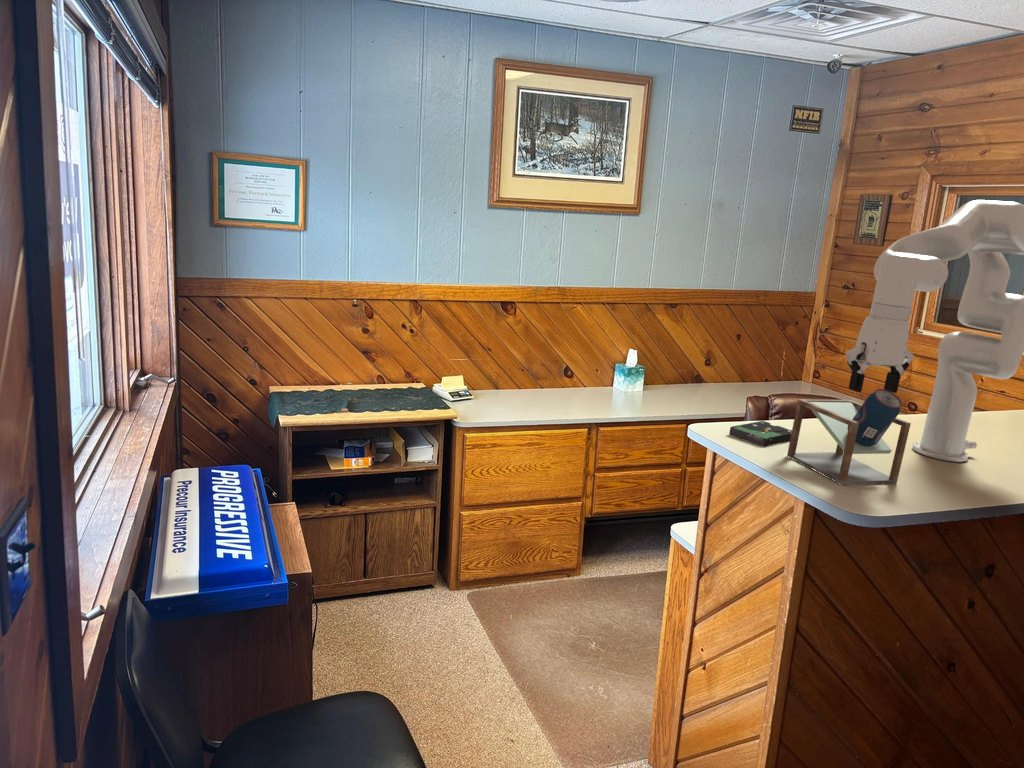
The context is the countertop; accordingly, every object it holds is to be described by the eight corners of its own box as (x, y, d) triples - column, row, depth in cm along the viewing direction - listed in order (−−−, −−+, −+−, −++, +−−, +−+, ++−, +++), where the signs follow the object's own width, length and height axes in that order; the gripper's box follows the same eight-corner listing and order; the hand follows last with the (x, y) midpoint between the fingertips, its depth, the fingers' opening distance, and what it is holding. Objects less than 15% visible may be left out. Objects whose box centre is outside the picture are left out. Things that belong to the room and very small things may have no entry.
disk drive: (760, 430, 202) (727, 436, 193) (762, 420, 201) (729, 425, 192) (795, 442, 195) (763, 448, 185) (797, 431, 194) (765, 438, 184)
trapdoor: (807, 405, 176) (809, 401, 175) (849, 405, 179) (851, 402, 179) (845, 454, 164) (848, 450, 163) (889, 453, 168) (891, 450, 167)
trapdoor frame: (787, 456, 180) (798, 399, 176) (838, 455, 184) (850, 400, 181) (841, 485, 163) (854, 422, 160) (896, 483, 168) (910, 423, 164)
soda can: (845, 422, 171) (872, 382, 164) (875, 434, 170) (904, 395, 162) (844, 440, 166) (872, 400, 158) (875, 453, 165) (905, 413, 157)
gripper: (907, 312, 167) (890, 387, 171) (844, 308, 162) (828, 385, 166) (935, 318, 160) (917, 396, 164) (870, 314, 155) (853, 394, 159)
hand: (872, 390), depth 165 cm, fingers open, 9 cm apart
